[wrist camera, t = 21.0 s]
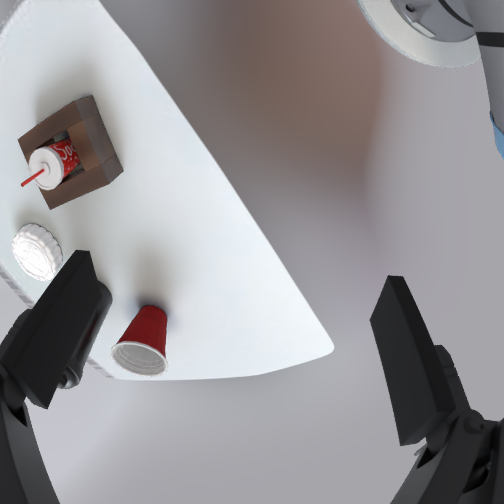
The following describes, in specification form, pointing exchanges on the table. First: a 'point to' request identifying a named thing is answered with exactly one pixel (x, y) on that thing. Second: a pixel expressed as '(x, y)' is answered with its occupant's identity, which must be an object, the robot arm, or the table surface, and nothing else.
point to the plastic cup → (143, 344)
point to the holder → (86, 145)
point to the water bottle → (86, 342)
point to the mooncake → (37, 252)
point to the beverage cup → (52, 164)
